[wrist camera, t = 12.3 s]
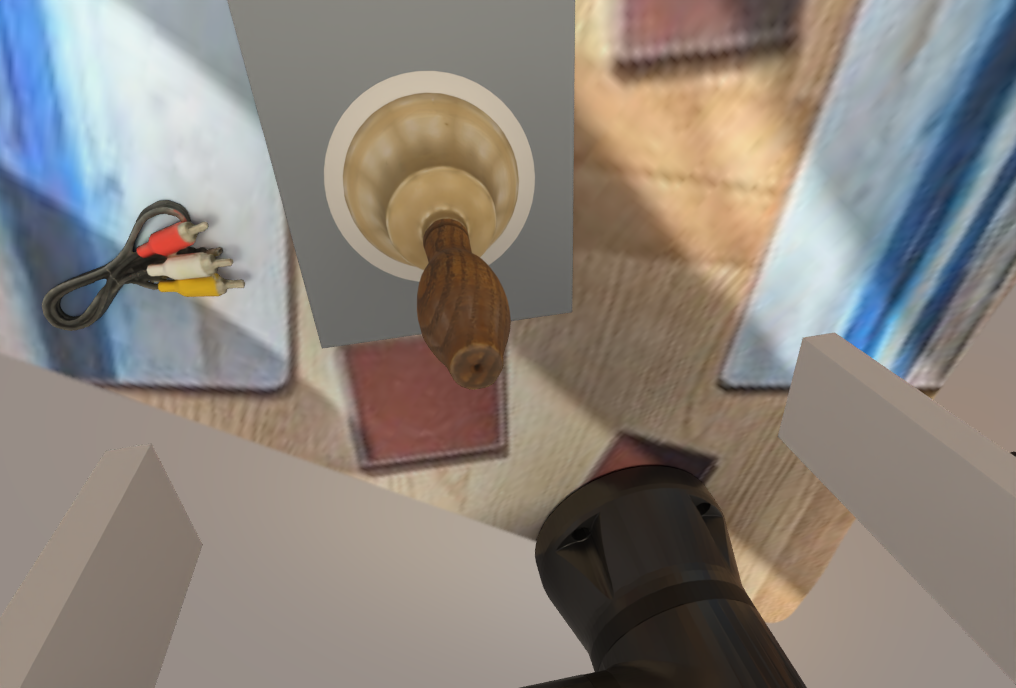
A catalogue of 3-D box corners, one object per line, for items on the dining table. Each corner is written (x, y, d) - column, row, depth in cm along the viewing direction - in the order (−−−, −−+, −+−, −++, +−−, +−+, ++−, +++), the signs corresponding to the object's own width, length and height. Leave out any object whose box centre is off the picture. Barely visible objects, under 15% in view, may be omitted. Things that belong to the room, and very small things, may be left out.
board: (566, 302, 33) (572, 312, 32) (323, 337, 31) (321, 349, 30) (567, -20, 24) (575, -22, 23) (233, -1, 22) (226, -1, 21)
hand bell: (371, 282, 28) (365, 528, 15) (317, 112, 24) (241, 246, 11) (528, 248, 29) (654, 453, 16) (504, 76, 25) (652, 159, 11)
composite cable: (71, 331, 28) (47, 357, 26) (1, 247, 26) (-32, 268, 24) (257, 272, 29) (248, 293, 27) (207, 183, 26) (192, 198, 24)
